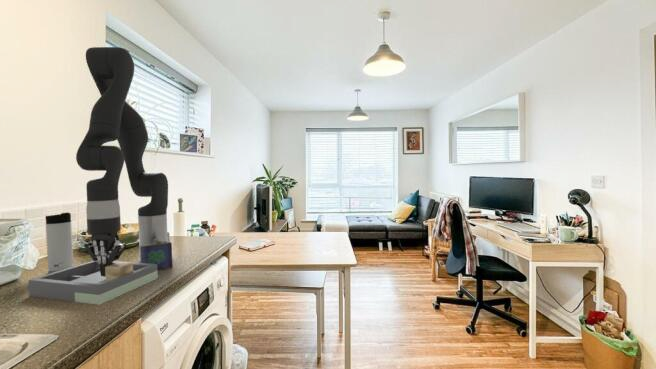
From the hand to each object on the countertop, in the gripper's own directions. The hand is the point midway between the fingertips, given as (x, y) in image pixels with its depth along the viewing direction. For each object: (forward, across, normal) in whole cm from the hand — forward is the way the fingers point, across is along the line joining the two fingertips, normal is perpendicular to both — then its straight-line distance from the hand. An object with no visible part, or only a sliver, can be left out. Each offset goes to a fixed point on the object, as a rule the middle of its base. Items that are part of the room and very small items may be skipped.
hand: (106, 275), depth 82 cm
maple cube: (+1, -5, 0) cm, 5 cm away
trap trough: (+4, +3, 0) cm, 5 cm away
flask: (+4, -2, -16) cm, 17 cm away
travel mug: (+4, +29, -8) cm, 31 cm away
